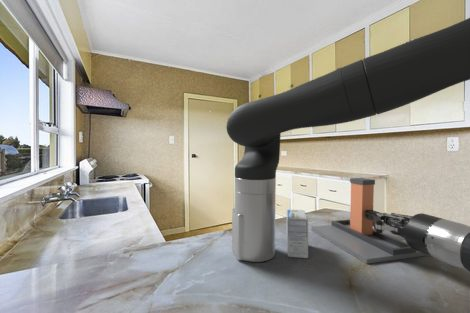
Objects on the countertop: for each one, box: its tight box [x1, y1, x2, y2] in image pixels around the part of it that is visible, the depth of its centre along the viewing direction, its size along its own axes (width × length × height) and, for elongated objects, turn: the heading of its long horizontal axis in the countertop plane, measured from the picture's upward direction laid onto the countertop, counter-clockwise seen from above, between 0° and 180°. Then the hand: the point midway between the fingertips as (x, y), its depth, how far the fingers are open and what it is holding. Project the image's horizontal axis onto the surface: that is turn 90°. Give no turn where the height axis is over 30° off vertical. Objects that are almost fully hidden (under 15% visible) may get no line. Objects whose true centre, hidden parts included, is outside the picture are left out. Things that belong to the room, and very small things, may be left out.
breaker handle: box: [349, 177, 376, 235], centre depth 60 cm, size 4×4×14 cm
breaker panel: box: [310, 218, 427, 264], centre depth 58 cm, size 20×20×2 cm
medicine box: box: [286, 209, 309, 259], centre depth 52 cm, size 8×4×9 cm, turn 168°
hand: (367, 213), depth 58 cm, fingers closed
